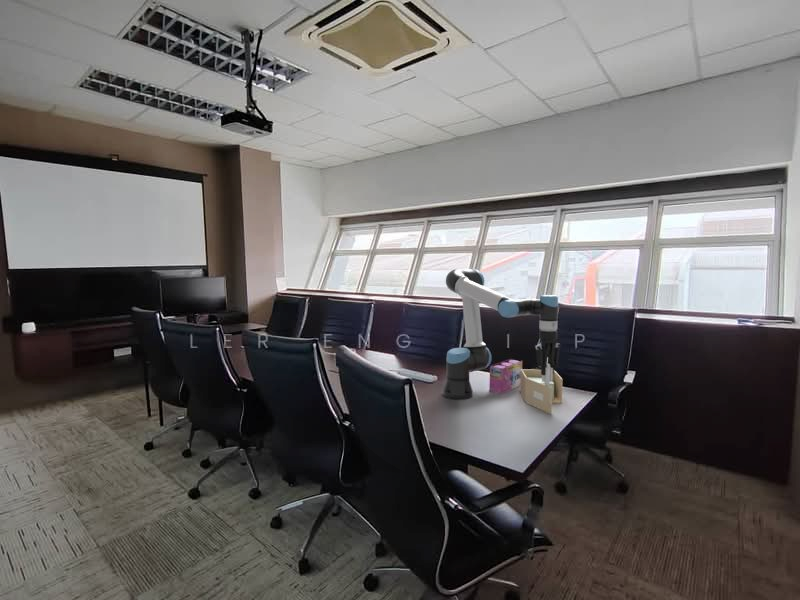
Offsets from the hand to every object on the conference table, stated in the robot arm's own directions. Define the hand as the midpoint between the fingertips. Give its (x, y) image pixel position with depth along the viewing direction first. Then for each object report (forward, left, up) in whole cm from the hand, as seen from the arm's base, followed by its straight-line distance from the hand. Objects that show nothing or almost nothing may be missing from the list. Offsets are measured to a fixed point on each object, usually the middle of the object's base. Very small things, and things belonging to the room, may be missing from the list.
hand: (547, 381), depth 177 cm
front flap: (-3, +5, -14) cm, 15 cm away
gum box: (-14, +35, -14) cm, 40 cm away
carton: (+1, +20, -14) cm, 25 cm away
